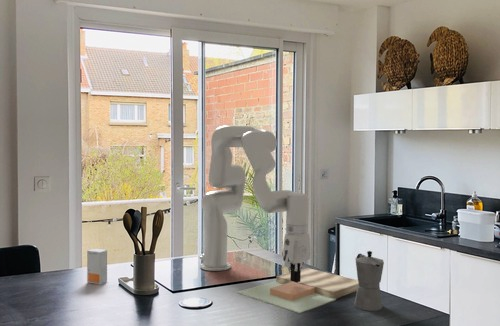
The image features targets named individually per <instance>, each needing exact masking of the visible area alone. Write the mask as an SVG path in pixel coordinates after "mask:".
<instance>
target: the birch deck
mask: <svg viewBox="0 0 500 326" xmlns="http://www.w3.org/2000/svg"><path fill="white" fill-rule="evenodd" d="M290 277H291V271H290V272H286V273H283V274H280V275H276V280H275V282H278V283H282V284H286V283H289V282H293V281H291V280H290ZM296 283H300V284H304V285H307V286H311V287H315V293H317V294H321V295H324V296H328V297H331V298H335V299H336V300H337V299H339V298H341V297H344V296H346V295H349V294H352V293H355V292H357V287H358V279H354V278H350V277H345V276H341V275H338V274H334V273H329V272H326V271H322V270H317V269H312V268H310V267H305V268H302V270H301V277H300V282H296Z"/></svg>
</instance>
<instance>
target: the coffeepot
mask: <svg viewBox="0 0 500 326" xmlns="http://www.w3.org/2000/svg"><path fill="white" fill-rule="evenodd" d="M366 254H367V256H366V255H365V254H363V253H357V256H356V257H355V268H356V276H357V280H358V287H357V291H356V294H355V298H354V307H355V308H356V309H358V310H361V311H367V312H375V311H381V310H382V309H383V300H382V295H381V288H380V285H381V284H380V283H381V281H382V276H383V271H384V264H385V263H384V259H381V258H378V257H373V256H372V255H373V251H371V250H368V251H366Z"/></svg>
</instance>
